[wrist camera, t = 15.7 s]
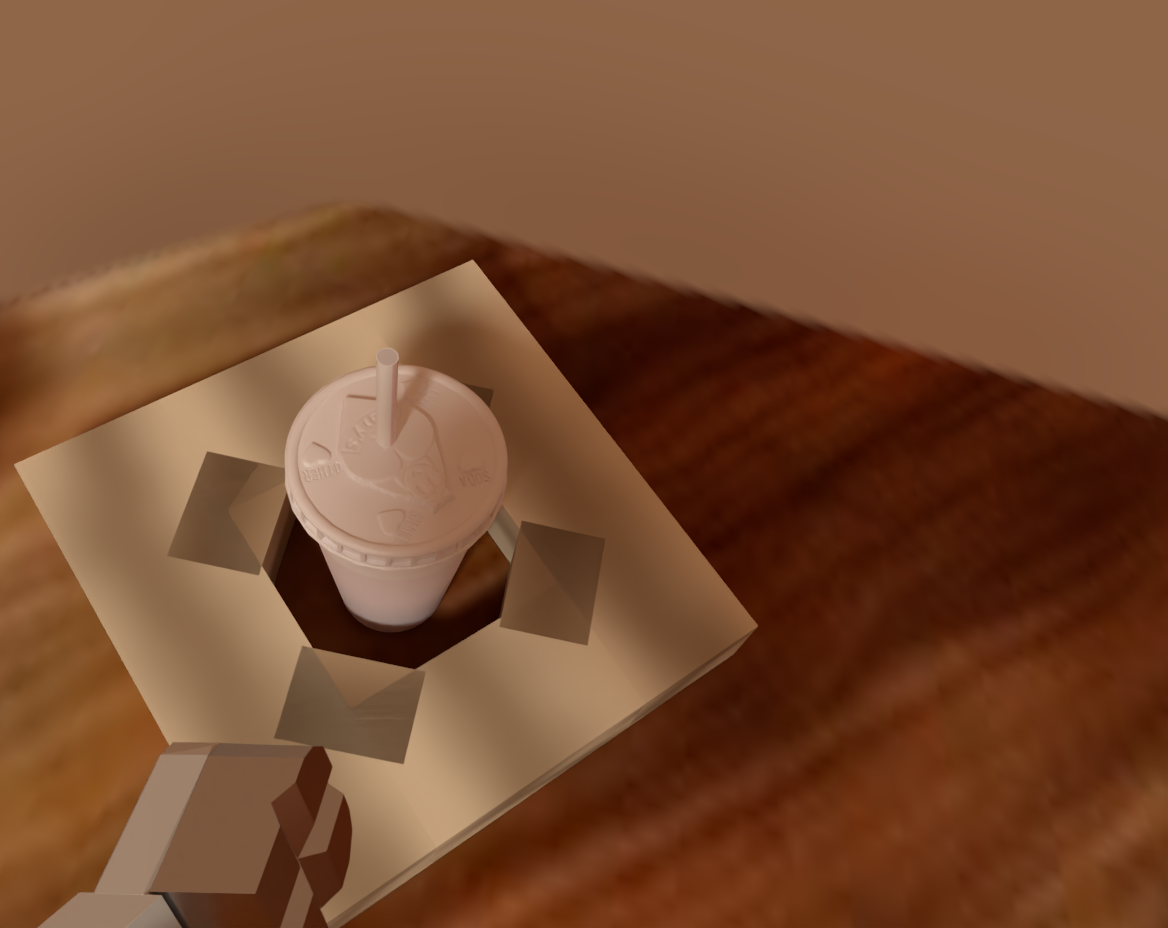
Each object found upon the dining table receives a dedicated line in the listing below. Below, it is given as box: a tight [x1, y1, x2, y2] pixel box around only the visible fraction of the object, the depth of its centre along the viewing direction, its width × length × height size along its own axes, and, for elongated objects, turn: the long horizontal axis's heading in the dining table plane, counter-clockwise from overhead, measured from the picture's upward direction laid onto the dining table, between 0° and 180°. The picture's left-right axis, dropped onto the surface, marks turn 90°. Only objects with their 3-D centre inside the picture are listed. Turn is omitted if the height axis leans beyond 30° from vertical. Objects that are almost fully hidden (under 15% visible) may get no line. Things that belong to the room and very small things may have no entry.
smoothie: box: [285, 348, 508, 632], centre depth 34 cm, size 6×6×14 cm
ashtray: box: [14, 260, 758, 928], centre depth 38 cm, size 18×18×3 cm
